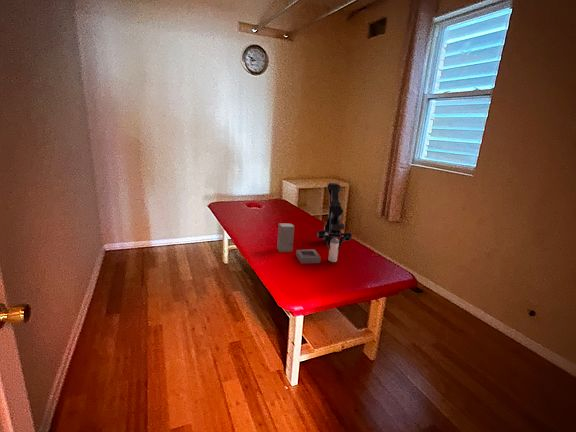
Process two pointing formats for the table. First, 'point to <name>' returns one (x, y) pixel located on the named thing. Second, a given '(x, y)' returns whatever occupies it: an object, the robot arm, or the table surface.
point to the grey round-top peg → (333, 250)
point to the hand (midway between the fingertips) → (334, 249)
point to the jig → (308, 256)
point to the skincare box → (285, 237)
